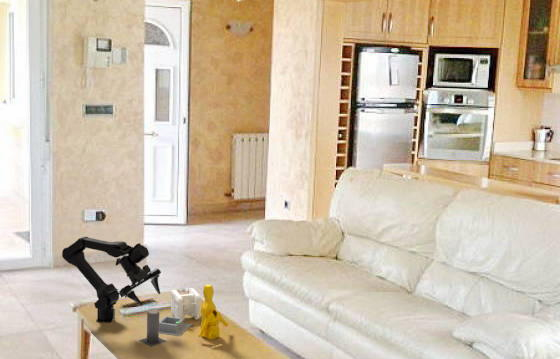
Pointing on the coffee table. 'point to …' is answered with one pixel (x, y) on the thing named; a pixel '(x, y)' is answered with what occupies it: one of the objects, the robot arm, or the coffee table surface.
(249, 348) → the coffee table surface
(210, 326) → the figure statuette
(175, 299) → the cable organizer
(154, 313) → the grey cylindrical piece
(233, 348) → the coffee table surface
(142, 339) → the pad
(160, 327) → the port
